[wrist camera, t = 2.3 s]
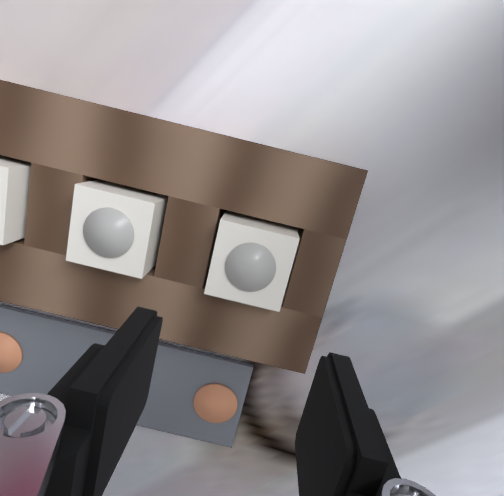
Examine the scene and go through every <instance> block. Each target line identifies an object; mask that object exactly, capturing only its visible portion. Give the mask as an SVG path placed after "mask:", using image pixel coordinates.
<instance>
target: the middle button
mask: <svg viewBox="0 0 504 496" xmlns="http://www.w3.org/2000/svg"><path fill="white" fill-rule="evenodd" d="M168 197H169V196H164V195H160V194H156V193H152V192H148V191H144V190H140V189H136V188H132V187H128V186H123V185H119V184H115V183H111V182H107V181H103V180H93V181H88V182H82V183H77V184H75V187H74V195H73V203H72V212H71V220H70V228H69V237H68V245H67V253H66V261H70V262H74V263H78V264H82V265H86V266H90V267H95V268H99V269H103V270H107V271H111V272H115V273H119V274H124V275H128V276H132V277H136V278H140V279H142V278H143V277H144V276H145V275H146V274H147V273H148V272H149V271H150V270H151V269H152V268H153V267H154V266H155V265H156V262H157V257H158V251H159V246H160V240H161V235H162V229H163V224H164V218H165V213H166V207H167V202H168Z"/></svg>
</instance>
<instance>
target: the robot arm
mask: <svg viewBox="0 0 504 496" xmlns="http://www.w3.org/2000/svg"><path fill="white" fill-rule="evenodd" d="M162 322H163V317H159V316H157V311H155V310H151V309H147V308H143V307H137V308H136V309H135V310H134V311H133V313H132V314H131V315H130V316H129V317H128V319H127V320H126V321H125V322H124V323H123V324H122V326H121V327H120V328H119V329H118V330H117V332H116V333H115V334H114V335H113V336H112V338H111V339H110V340H109V341H108V342H107V344H106V345H101V344H97V343H94V344H92V345H91V346H90V347H89V348H88V349H87V351H86V352H85V353H84V354H83V355H82V356H81V357H80V358H79V359H78V360H77V362H76V363H75V364H74V365H73V366H72V367H71V368H70V369H69V370H68V371H67V373H66V374H65V375H64V376H63V377H62V378H61V379H60V380H59V381H58V382H57V384H56V385H55V386H54V387H53V388H52V389H51V390H50V391H49V392H48V393H47V394H41V393H24V394H19V395H14V396H11V397H9V398H6V399H4V400H1V401H0V496H102V494H103V492H104V490H105V488H106V486H107V484H108V482H109V480H110V478H111V476H112V474H113V472H114V470H115V467H116V465H117V463H118V461H119V459H120V457H121V455H122V453H123V451H124V449H125V447H126V445H127V443H128V441H129V439H130V437H131V435H132V432H133V430H134V428H135V426H136V424H137V422H138V420H139V418H140V416H141V414H142V412H143V410H144V407H145V405H146V402H147V398H148V394H149V388H150V383H151V378H152V373H153V368H154V363H155V358H156V353H157V347H158V342H159V337H160V332H161V327H162ZM295 449H296V461H297V474H298V486H299V496H436V495H434V494H433V493H432V492H430V491H429V490H428V489H426V488H425V487H423V486H421V485H419V484H417V483H415V482H413V481H410V480H407V479H401V477H400V475H399V472H398V470H397V467H396V465H395V462H394V460H393V457H392V455H391V452H390V449H389V447H388V444H387V442H386V439H385V437H384V434H383V432H382V429H381V427H380V424H379V421H378V419H377V416H376V414H375V412H374V410H372V409H370V408H368V405H367V403H366V400H365V397H364V395H363V392H362V389H361V387H360V384H359V381H358V379H357V376H356V373H355V371H354V368H353V365H352V363H351V360H350V358H349V357H347V356H343V355H338V354H334V353H329V354H328V356H327V357H325V356H321V358H320V361H319V364H318V367H317V370H316V373H315V376H314V379H313V382H312V386H311V389H310V392H309V395H308V398H307V401H306V404H305V408H304V411H303V414H302V417H301V420H300V423H299V426H298V430H297V433H296V439H295Z"/></svg>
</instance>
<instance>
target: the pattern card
mask: <svg viewBox="0 0 504 496" xmlns="http://www.w3.org/2000/svg"><path fill="white" fill-rule="evenodd" d="M115 333H116V332H115V331H111V330H107V329H102V328H98V327H94V326H90V325H86V324H82V323H77V322H73V321H69V320H65V319H61V318H56V317H52V316H48V315H44V314H40V313H35V312H31V311H27V310H23V309H19V308H15V307H10V306H6V305H2V304H0V393H2V394H6V395H11V396H14V395H19V394H24V393H41V394H47V393H48V392H49V391H50V390H51V389H52V388H53V387H54V386H55V385H56V384H57V382H58V381H59V380H60V379H61V378H62V377H63V376H64V375H65V374H66V373H67V371H68V370H69V369H70V368H71V367H72V366H73V365H74V364H75V363H76V362H77V360H78V359H79V358H80V357H81V356H82V355H83V354H84V353H85V352H86V351H87V349H88V348H89V347H90V346H91V345H92V344H94V343H97V344H101V345H106V344H107V342H108V341H109V340H110V339H111V338H112V336H113V335H114V334H115ZM252 371H253V364H249V363H245V362H241V361H236V360H232V359H228V358H224V357H220V356H216V355H211V354H207V353H203V352H199V351H195V350H190V349H186V348H182V347H178V346H174V345H169V344H165V343H161V342H158V347H157V353H156V358H155V363H154V368H153V373H152V378H151V383H150V388H149V394H148V398H147V402H146V405H145V407H144V410H143V412H142V414H141V416H140V418H139V420H138V422H137V424H136V425H138V426H142V427H147V428H151V429H155V430H159V431H163V432H168V433H172V434H176V435H180V436H185V437H189V438H193V439H197V440H202V441H206V442H210V443H214V444H219V445H223V446H227V447H231V448H232V445H233V441H234V437H235V434H236V430H237V426H238V422H239V419H240V415H241V411H242V408H243V404H244V400H245V397H246V393H247V389H248V385H249V382H250V378H251V374H252Z"/></svg>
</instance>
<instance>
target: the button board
mask: <svg viewBox="0 0 504 496" xmlns="http://www.w3.org/2000/svg"><path fill="white" fill-rule="evenodd" d="M0 155H3V156H7V157H11V158H15V159H19V160H23V161H27V162H31V174H30V185H29V196H28V207H27V218H26V229H25V238H22V239H19V240H17V241H14V242H11V243H8V244H6V245H0V301H3V302H7V303H11V304H15V305H19V306H24V307H28V308H32V309H36V310H40V311H44V312H49V313H53V314H57V315H61V316H65V317H70V318H74V319H78V320H82V321H86V322H91V323H95V324H99V325H103V326H107V327H111V328H116V329H119V328H120V327H121V326H122V324H123V323H124V322H125V321H126V320H127V319H128V317H129V316H130V315H131V314H132V313H133V311H134V310H135V309H136V308H137V307H143V308H147V309H151V310H155V311H157V316H159V317H163V322H162V327H161V332H160V337H159V339H162V340H166V341H170V342H174V343H178V344H183V345H187V346H191V347H195V348H199V349H204V350H208V351H212V352H216V353H220V354H224V355H229V356H233V357H237V358H241V359H245V360H250V361H254V362H258V363H262V364H266V365H270V366H275V367H279V368H283V369H287V370H291V371H296V372H300V373H304V374H305V372H306V369H307V365H308V362H309V359H310V356H311V352H312V349H313V346H314V343H315V340H316V336H317V333H318V330H319V327H320V323H321V320H322V317H323V314H324V310H325V307H326V304H327V301H328V298H329V294H330V291H331V288H332V285H333V281H334V278H335V275H336V272H337V269H338V265H339V262H340V259H341V256H342V252H343V249H344V246H345V243H346V239H347V236H348V233H349V230H350V227H351V223H352V220H353V217H354V214H355V210H356V207H357V204H358V201H359V198H360V194H361V191H362V188H363V185H364V181H365V178H366V175H367V172H368V171H367V170H363V169H359V168H355V167H351V166H347V165H343V164H339V163H335V162H331V161H327V160H323V159H319V158H315V157H311V156H307V155H303V154H298V153H294V152H290V151H286V150H282V149H278V148H274V147H270V146H266V145H262V144H258V143H254V142H250V141H246V140H242V139H238V138H234V137H230V136H226V135H222V134H217V133H213V132H209V131H205V130H201V129H197V128H193V127H189V126H185V125H181V124H177V123H173V122H169V121H165V120H161V119H157V118H153V117H149V116H145V115H140V114H136V113H132V112H128V111H124V110H120V109H116V108H112V107H108V106H104V105H100V104H96V103H92V102H88V101H84V100H80V99H76V98H72V97H68V96H63V95H59V94H55V93H51V92H47V91H43V90H39V89H35V88H31V87H27V86H23V85H19V84H15V83H11V82H7V81H3V80H0ZM93 180H103V181H104V180H105V181H109V182H113V183H117V184H122V185H126V186H130V187H134V188H138V189H142V190H146V191H150V192H154V193H158V194H162V195H167V196H169V197H168V202H167V207H166V213H165V218H164V224H163V229H162V235H161V240H160V246H159V251H158V257H157V262H156V265H155V266H154V267H153V268H152V269H151V270H150V271H149V272H148V273H147V274H146V275H145V276H144V277H143V278H142V279H140V278H136V277H132V276H128V275H124V274H119V273H115V272H111V271H107V270H103V269H99V268H95V267H90V266H86V265H82V264H78V263H74V262H70V261H66V253H67V245H68V237H69V228H70V220H71V212H72V203H73V195H74V187H75V184H77V183H82V182H88V181H93ZM224 210H228V211H232V212H236V213H240V214H244V215H249V216H253V217H257V218H261V219H265V220H269V221H273V222H277V223H281V224H285V225H289V226H294V227H298V231H297V232H298V235H299V238H300V240H299V243H298V247H297V251H296V254H295V258H294V261H293V265H292V269H291V272H290V276H289V279H288V283H287V287H286V290H285V294H284V297H283V301H282V305H281V308H280V312H277V311H273V310H269V309H265V308H261V307H256V306H252V305H248V304H244V303H240V302H236V301H232V300H227V299H223V298H219V297H215V296H211V295H207V294H204V291H205V287H206V282H207V278H208V273H209V269H210V264H211V260H212V255H213V251H214V246H215V241H216V237H217V232H218V228H219V223H220V219H221V218H222V215H223V211H224Z"/></svg>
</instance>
